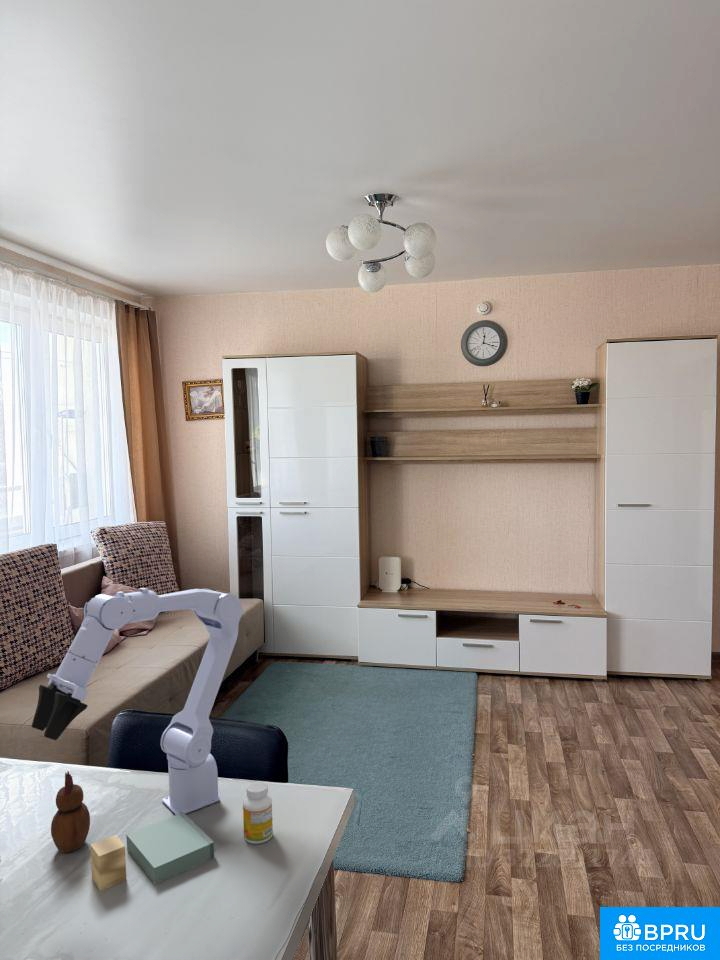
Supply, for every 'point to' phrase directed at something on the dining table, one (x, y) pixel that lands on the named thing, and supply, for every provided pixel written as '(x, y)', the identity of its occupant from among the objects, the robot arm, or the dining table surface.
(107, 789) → the dining table surface
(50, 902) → the dining table surface
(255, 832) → the supplement bottle
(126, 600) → the robot arm
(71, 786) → the wooden figurine
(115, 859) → the block
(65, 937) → the dining table surface
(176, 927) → the dining table surface
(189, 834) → the green flat slab
